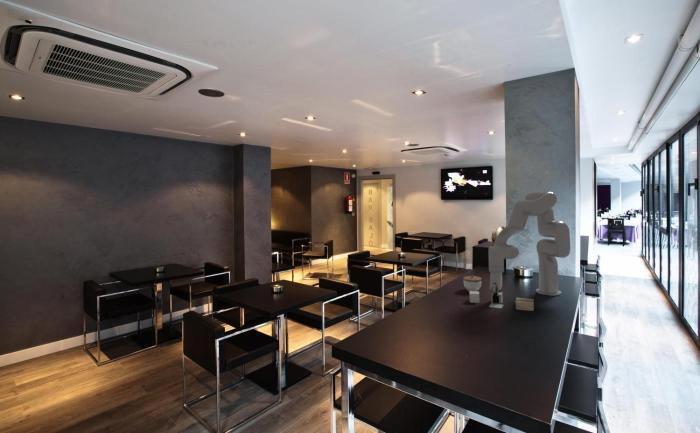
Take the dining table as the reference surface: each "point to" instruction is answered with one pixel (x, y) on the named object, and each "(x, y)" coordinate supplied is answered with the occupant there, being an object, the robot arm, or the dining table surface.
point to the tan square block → (525, 304)
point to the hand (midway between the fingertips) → (497, 300)
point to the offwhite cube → (474, 296)
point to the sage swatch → (496, 305)
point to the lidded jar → (472, 283)
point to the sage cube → (499, 297)
